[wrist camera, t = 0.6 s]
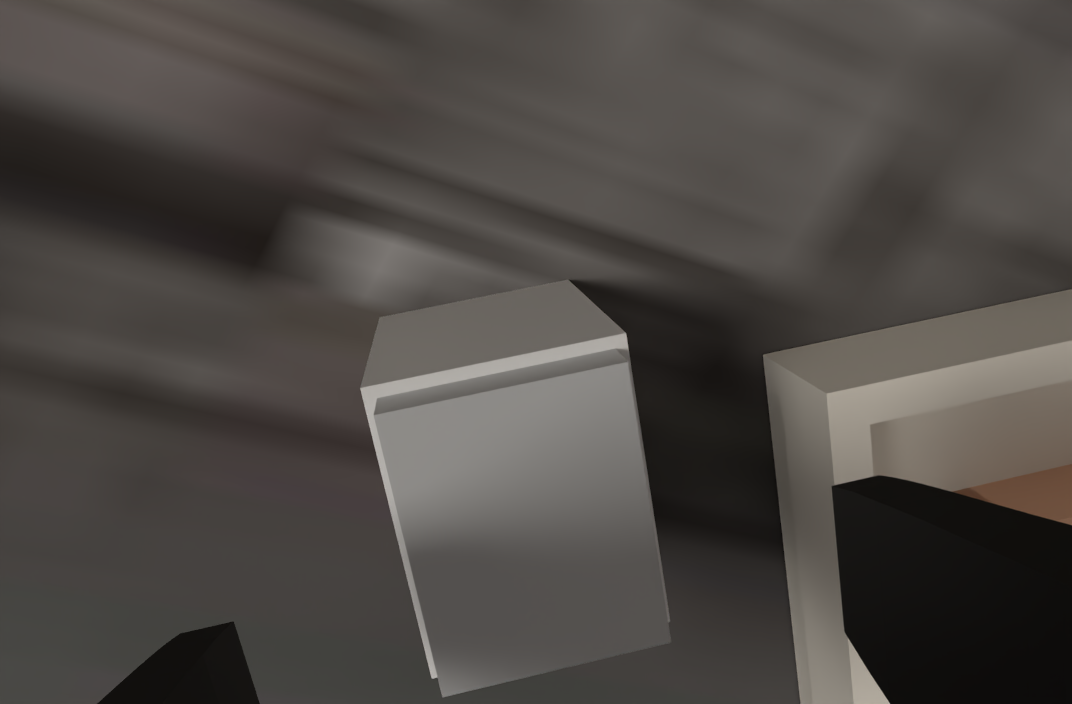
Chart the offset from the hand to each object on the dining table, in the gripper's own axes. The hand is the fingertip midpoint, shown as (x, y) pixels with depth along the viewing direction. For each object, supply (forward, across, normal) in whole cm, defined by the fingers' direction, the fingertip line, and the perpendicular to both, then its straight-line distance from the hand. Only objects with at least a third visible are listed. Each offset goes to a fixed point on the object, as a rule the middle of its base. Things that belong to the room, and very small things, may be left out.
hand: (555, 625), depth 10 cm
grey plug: (+8, 0, 0) cm, 8 cm away
